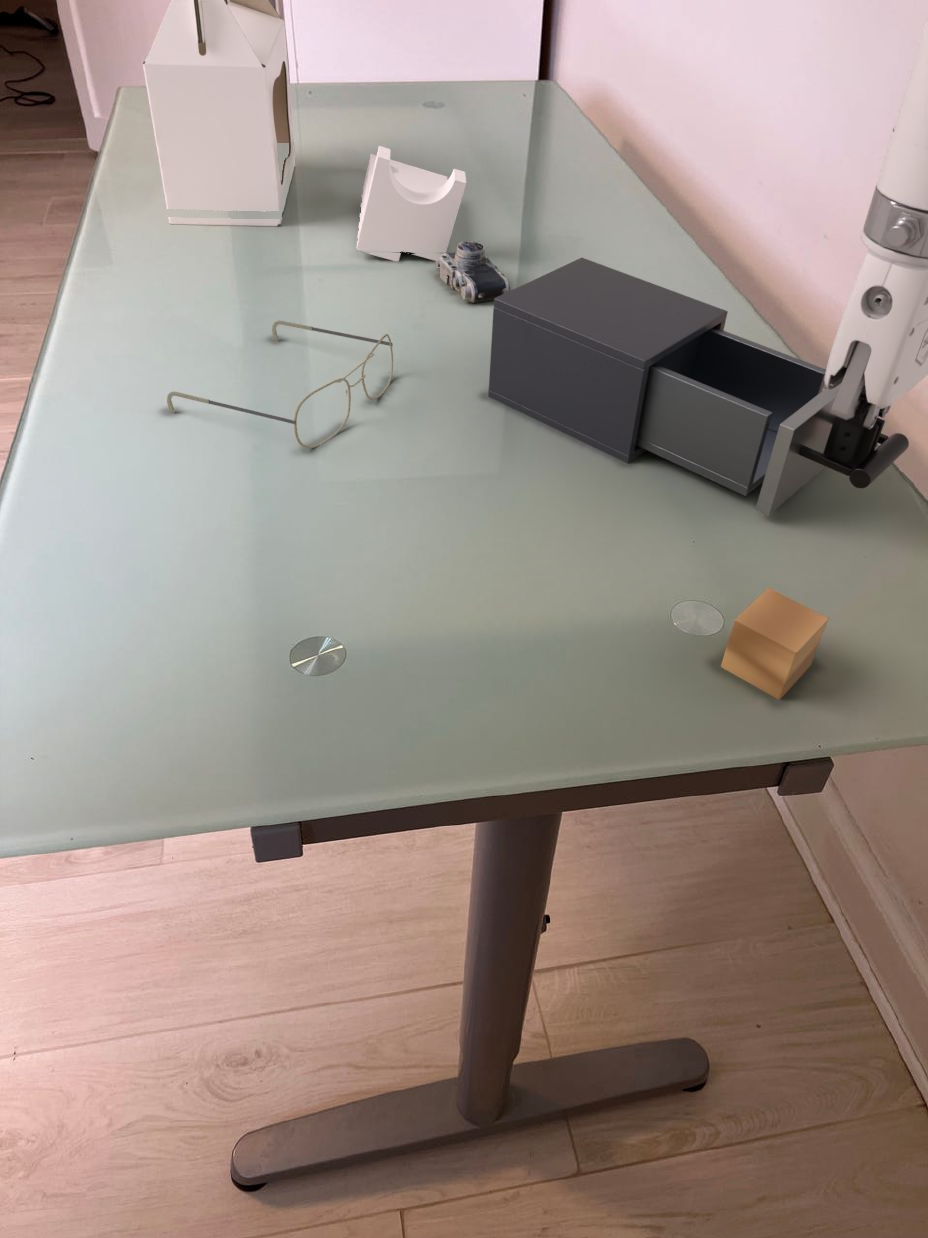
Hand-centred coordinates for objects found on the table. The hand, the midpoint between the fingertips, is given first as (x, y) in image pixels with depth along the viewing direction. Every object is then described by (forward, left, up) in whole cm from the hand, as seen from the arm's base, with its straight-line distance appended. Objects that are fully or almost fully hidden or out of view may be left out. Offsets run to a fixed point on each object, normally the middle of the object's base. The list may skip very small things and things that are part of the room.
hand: (845, 461), depth 77 cm
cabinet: (+18, -15, -5) cm, 24 cm away
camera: (+30, -39, -5) cm, 49 cm away
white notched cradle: (+38, -54, -5) cm, 66 cm away
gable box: (+61, -63, -5) cm, 88 cm away
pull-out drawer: (+5, -5, -4) cm, 8 cm away
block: (+9, +18, -5) cm, 21 cm away
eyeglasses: (+46, -14, -5) cm, 48 cm away
